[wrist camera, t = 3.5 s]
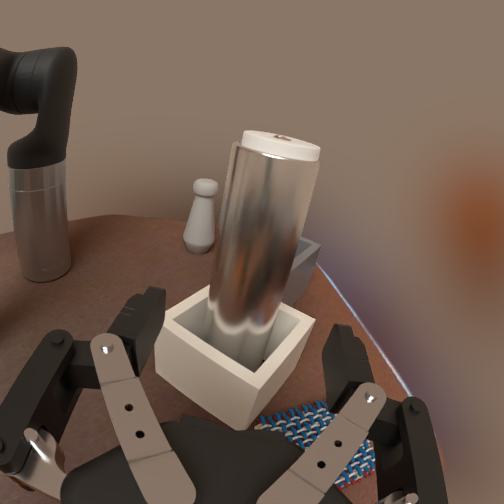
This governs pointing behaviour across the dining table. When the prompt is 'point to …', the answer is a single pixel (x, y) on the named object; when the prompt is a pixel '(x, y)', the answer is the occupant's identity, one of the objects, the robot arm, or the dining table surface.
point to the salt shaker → (201, 217)
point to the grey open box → (301, 270)
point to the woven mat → (315, 424)
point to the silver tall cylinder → (257, 241)
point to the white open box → (226, 362)
